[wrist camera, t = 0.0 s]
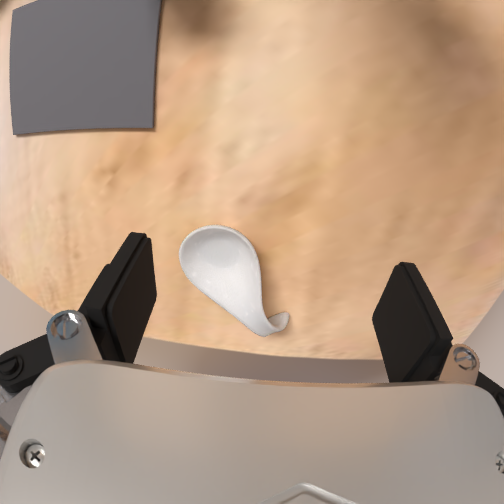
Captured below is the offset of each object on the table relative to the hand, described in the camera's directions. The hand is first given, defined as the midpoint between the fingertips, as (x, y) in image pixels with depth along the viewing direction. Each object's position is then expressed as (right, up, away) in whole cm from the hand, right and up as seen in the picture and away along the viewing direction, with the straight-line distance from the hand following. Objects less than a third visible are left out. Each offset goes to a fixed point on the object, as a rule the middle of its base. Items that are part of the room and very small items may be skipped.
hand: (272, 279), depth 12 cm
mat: (-26, +28, +20) cm, 43 cm away
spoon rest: (-2, -2, +40) cm, 40 cm away
